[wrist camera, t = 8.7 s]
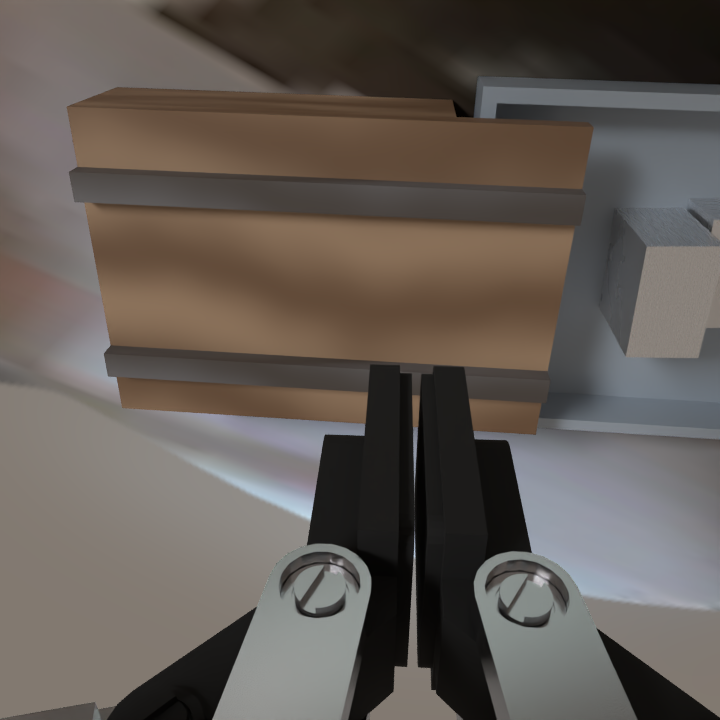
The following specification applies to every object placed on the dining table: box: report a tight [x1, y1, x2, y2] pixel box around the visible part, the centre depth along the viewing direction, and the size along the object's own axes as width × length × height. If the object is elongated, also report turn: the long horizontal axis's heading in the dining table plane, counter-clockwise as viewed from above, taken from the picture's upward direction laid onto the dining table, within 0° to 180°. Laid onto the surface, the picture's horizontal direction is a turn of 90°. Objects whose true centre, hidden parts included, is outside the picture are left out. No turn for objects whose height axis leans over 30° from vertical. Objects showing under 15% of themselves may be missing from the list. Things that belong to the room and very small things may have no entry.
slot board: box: [67, 87, 594, 435], centre depth 31 cm, size 14×20×6 cm
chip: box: [599, 207, 720, 358], centre depth 30 cm, size 5×5×3 cm
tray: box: [474, 76, 720, 439], centre depth 31 cm, size 16×18×3 cm
